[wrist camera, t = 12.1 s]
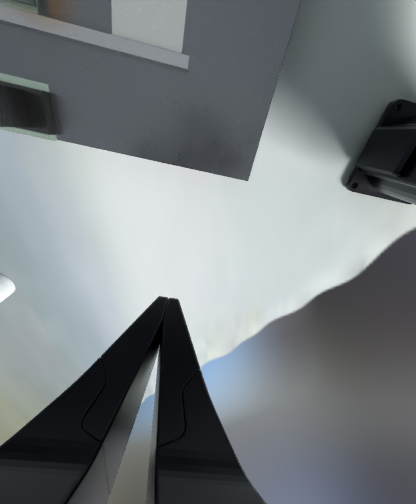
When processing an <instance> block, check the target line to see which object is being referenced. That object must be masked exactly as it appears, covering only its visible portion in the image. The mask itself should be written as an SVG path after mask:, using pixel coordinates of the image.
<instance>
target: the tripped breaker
mask: <svg viewBox="0 0 416 504" xmlns="http://www.w3.org/2000/svg"><path fill="white" fill-rule="evenodd" d="M17 1H20V2H24V3H28V4H31V5H34V0H17Z"/></svg>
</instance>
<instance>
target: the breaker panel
mask: <svg viewBox="0 0 416 504" xmlns="http://www.w3.org/2000/svg"><path fill="white" fill-rule="evenodd" d="M300 1H301V0H34V5H31V4H28V3H24V2H20V1H17V0H0V129H3V130H7V131H12V132H16V133H21V134H26V135H30V136H35V137H39V138H44V139H49V140H53V141H57V140H61V141H66V142H71V143H75V144H80V145H84V146H89V147H94V148H98V149H103V150H107V151H112V152H117V153H121V154H126V155H130V156H135V157H140V158H144V159H149V160H153V161H158V162H162V163H167V164H172V165H176V166H181V167H185V168H190V169H195V170H199V171H204V172H208V173H213V174H218V175H222V176H227V177H231V178H236V179H241V180H245V181H248V179H249V176H250V172H251V169H252V165H253V162H254V159H255V155H256V152H257V148H258V145H259V141H260V138H261V135H262V131H263V128H264V124H265V121H266V118H267V114H268V111H269V107H270V104H271V100H272V97H273V94H274V90H275V87H276V83H277V80H278V76H279V73H280V70H281V66H282V63H283V59H284V56H285V53H286V49H287V46H288V42H289V39H290V35H291V32H292V29H293V25H294V22H295V18H296V15H297V11H298V8H299V5H300Z"/></svg>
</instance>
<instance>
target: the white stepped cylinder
mask: <svg viewBox="0 0 416 504" xmlns="http://www.w3.org/2000/svg"><path fill="white" fill-rule="evenodd" d="M14 291H15V286H14V284H13V282H12V281H11V280H10V279H8V278H7V277H5V276H3V275H1V274H0V303H1V302H2V301H3V300H4V299H5V298H7V297H8V296H9V295H11V294H12V293H13V292H14Z"/></svg>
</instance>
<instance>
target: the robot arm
mask: <svg viewBox="0 0 416 504" xmlns="http://www.w3.org/2000/svg"><path fill="white" fill-rule="evenodd" d="M396 105H397V110H396V111H394V107H395V106H396ZM353 183H355V186H354V187H352V185H353ZM346 188H347V189H348V190H350V191H352V192H357V193H361V194H366V195H370V196H374V197H379V198H383V199H388V200H392V201H397V202H401V203H406V204H415V205H416V103H414V102H410V101H407V100H403V99H399V100H394V101H392V102H391V103H390V104H389V105H388V107H387V108H386V110H385V112H384V114H383V116H382V118H381V120H380V122H379V123H378V125H377V127H376V129H375V130H374V131H373V133H372V135H371V137H370V139H369V141H368V143H367V144H366V146H365V148H364V150H363V152H362V154H361V156H360V158H359V160H358V162H357V165H356V167H355V169H354V171H353V173H352V175H351V176H350V178H349V180H348V182H347V184H346ZM159 346H160V347H159ZM158 351H159V355H158V366H157V377H156V389H155V401H154V411H153V412H154V413H153V423H152V434H151V446H150V457H149V468H148V481H147V491H146V503H145V504H266V503H265V501H264V500H263V499H262V497H261V496H260V495H259V493H258V492H257V491H256V489H255V488H254V487H253V486H252V484H251V482H250V481H249V479H248V478H247V476H246V475H245V473H244V471H243V469H242V467H241V465H240V463H239V461H238V459H237V457H236V455H235V453H234V450H233V448H232V446H231V444H230V442H229V440H228V437H227V435H226V433H225V431H224V428H223V426H222V424H221V421H220V419H219V417H218V415H217V412H216V410H215V408H214V405H213V403H212V401H211V398H210V396H209V393H208V390H207V387H206V384H205V382H204V378H203V375H202V372H201V370H200V366H199V363H198V360H197V356H196V353H195V350H194V347H193V344H192V341H191V337H190V334H189V331H188V328H187V325H186V321H185V318H184V315H183V312H182V309H181V306H180V302H179V300H178V299H175V298H169V299H168V297H162V296H159V297H158V298H157V299H156V300H155V301H154V302H153V303H152V304H151V305H150V306H149V307H148V308H147V309H146V310H145V311H144V312H143V313H142V314H141V315H140V316H139V317H138V318H137V319H136V320H135V321H134V323H133V324H132V325H131V326H130V327H129V328H128V329H127V330H126V331H125V332H124V333H123V334H122V335H121V336H120V337H119V338H118V339H117V340H116V341H115V342H114V343H113V344H112V345H111V346H110V347H109V348H108V349H107V350H106V351H105V352H104V353H103V355H102V356H101V358H99V359H98V360H97V361H96V362H95V363H94V364H93V365H92V366H91V367H90V368H89V369H88V370H87V371H86V372H85V373H84V374H83V375H82V376H81V377H80V378H79V379H78V380H77V381H75V382H74V383H73V384H72V385H71V386H70V387H69V388H68V389H66V390H65V391H64V392H63V393H62V394H61V395H60V396H59V397H57V398H56V399H55V400H54V401H53V402H52V403H50V404H49V405H48V406H47V407H46V408H45V409H44V410H42V411H41V412H40V413H39V414H38V415H37V416H35V417H34V418H33V419H32V420H31V421H30V422H28V423H27V424H26V425H25V426H24V427H23V428H21V429H20V430H19V431H18V432H17V433H16V434H14V435H13V436H12V437H11V438H10V439H9V440H7V441H6V442H5V443H4V444H2V445H1V446H0V504H107V502H108V500H109V495H110V493H111V491H112V487H113V485H114V482H115V479H116V476H117V473H118V469H119V467H120V464H121V461H122V458H123V455H124V452H125V449H126V446H127V443H128V440H129V437H130V434H131V431H132V428H133V425H134V422H135V419H136V416H137V413H138V410H139V408H140V405H141V402H142V399H143V396H144V393H145V390H146V387H147V384H148V381H149V378H150V375H151V372H152V369H153V366H154V363H155V360H156V357H157V354H158Z"/></svg>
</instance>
